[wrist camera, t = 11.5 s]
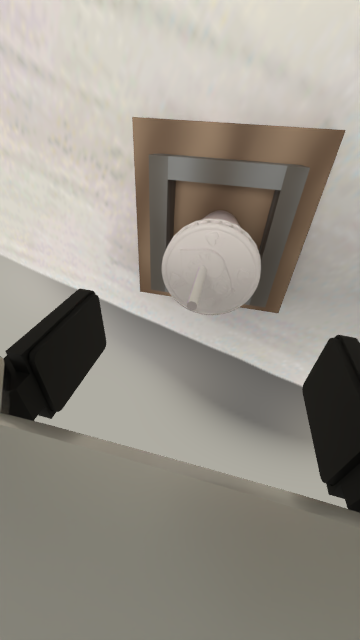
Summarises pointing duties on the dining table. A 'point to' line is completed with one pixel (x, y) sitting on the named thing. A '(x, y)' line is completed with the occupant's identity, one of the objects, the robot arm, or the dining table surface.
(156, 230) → the socket block
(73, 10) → the dining table surface
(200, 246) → the smoothie
